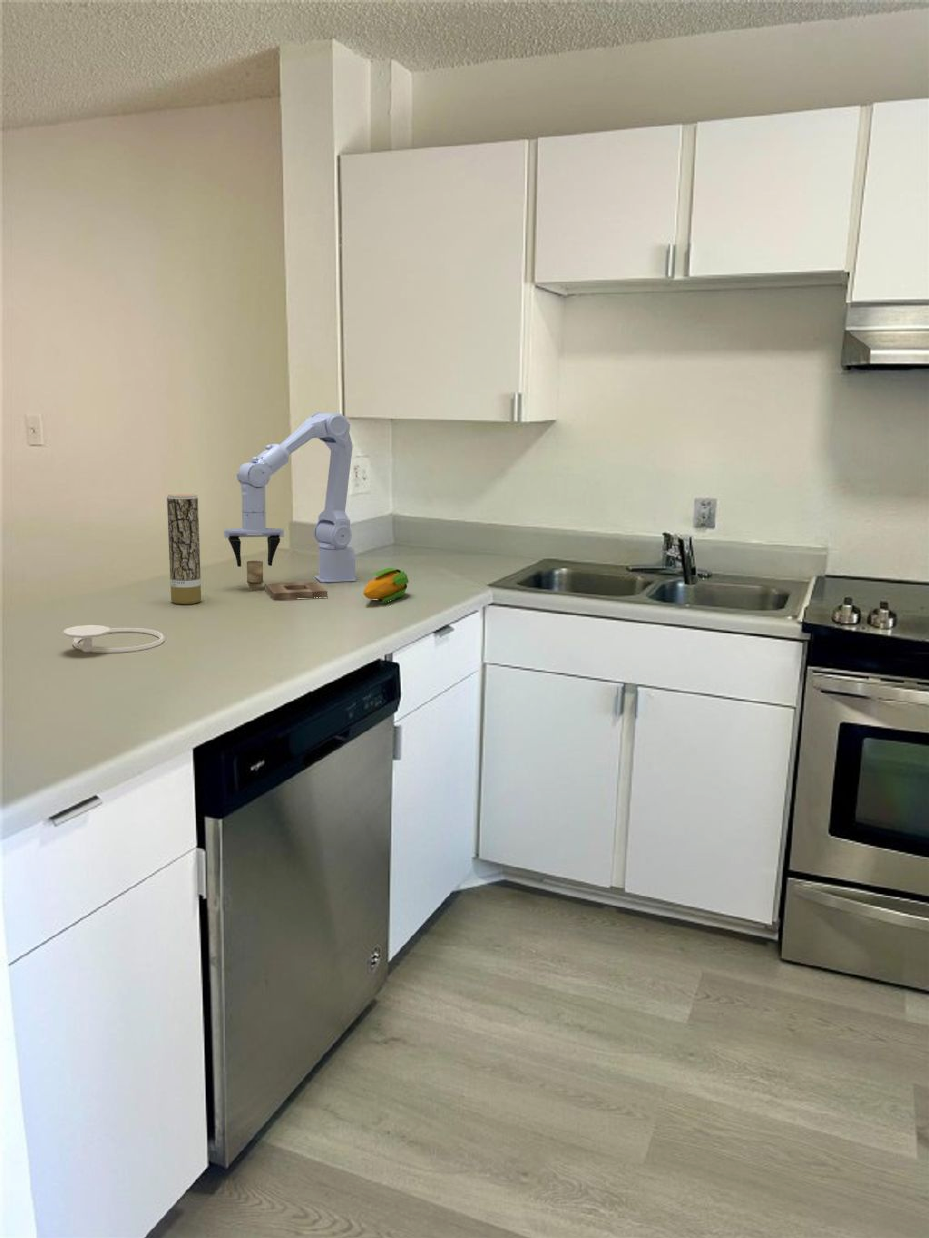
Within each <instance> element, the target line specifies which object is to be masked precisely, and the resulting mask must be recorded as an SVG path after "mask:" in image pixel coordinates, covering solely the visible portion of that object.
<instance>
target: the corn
mask: <svg viewBox="0 0 929 1238" xmlns="http://www.w3.org/2000/svg"><path fill="white" fill-rule="evenodd" d="M373 576H376V577H374V578H372V579H371V580H370V581H369V582H368V583H367V584H366V586H364V587H365V588H364V590H363V592H362V593H363V594H362V595H363V596H364V597H365V598H367V600H372V599H378V601H381V603H382V604H386V603H385V602H387V603H389V602H388V601H390V600H393V599H395V598H397V599H398V597H399V598H401V597H403V596H404V595H405V592H406V590H407V588H408V584H409V578H408V575H407V574H406V573H405V571H401V570H400V569H398V568H394V567H387V568H384V569H382V570H379V571H377V572H375V573H374V574H373ZM395 600H396V599H395ZM393 601H394V600H393ZM390 602H391V601H390Z"/></svg>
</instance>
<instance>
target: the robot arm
mask: <svg viewBox="0 0 929 1238" xmlns="http://www.w3.org/2000/svg"><path fill="white" fill-rule="evenodd" d="M350 430H351V423H350V422H349V421H348V420H347V418H346V417H345V416H344V415H343V414H341V413H337V412H335V413H328V412H327V413H324V412H321V411H320V412H314V413H313V414H312V415H311V416H310V417H309V416H308V417H307V418H306V419H305V420H304V422H303V423H302V424H301V425H299V427H297V429H295V431H294V432H292V433H291V434H290V435H289V436H288V437H287V438H285V439H284V440H283V441H282V442H281V443H280V444H278V443H272V444H267V445H265V450H263V451H262V452H261V453H260V454H258V455H257V456H253V457H252V458H251V461H250V462H245V463H243V464H241V465H240V467H239V470H238V472H237V473H236V475H235V476H236V480H237V481H238V483H239V484H240V489H241V522H242V523H241V526H242V527H241V528H240V527H239V528H228V529H226V528H225V529H223V537H224V539H227V540H228V541H229V544H230V546H231V548H232V551H233V553H234V556H235V560H236V565H237V567H242V557H241V550H242V549H241V547H242V545H241V544H242V541H241V538H267V540H266V541H267V565H268V566H273V560H274V556H275V553H276V551H277V549H278V546H279V545H280V542H281V538H284V537H285V533H284V531H285V529H284V528H272V527H271V528H270V527H268V528H267V526H266V524H267V521H266V486H267V485H268V484H269V482H270V479H271V476H272V475H274V474H275V473H276V472H277V471H278V470H280V469H281V468H282V467H284V466H285V465H287V464H288V463H289V459H290V455H291V454H292V453H294V452H295V451H297V450H298V449H299V448H301V447H302V446H304V445H305V444H307V443H308V442H309V441H311V440H312V439H318V440H320V441H322V442H324V444H325V445H326V447H327V448H328V449H329V450H330V458H329V459H330V460H329V465H328V466H329V468H328V475H327V476H328V477H327V482H326V483H327V484H326V485H327V486H326V492H325V493H326V494H325V501H324V508H323V510H322V511H321V513H320V514H319V515H318V518H317V523H316V524H315V526H314V527H313V537H314V540H315V541H316V542H317V543H318V544H317V545H318V567H319V568H318V574H317V575H315V576H314V578H315V577H316V580H318V581H319V582H320V583H342V582H356V581H357V580H356V553H355V550H354V547H352V546H349V544H350V542H351V540H352V530H351V520H350V518H349V516H348V515H347V513H346V506H347V498H348V489H349V481H350V474H351V473H350V472H351V466H352V465H351V463H352V455H353V446H354V445H353V441H352V437H351V433H350Z"/></svg>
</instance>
